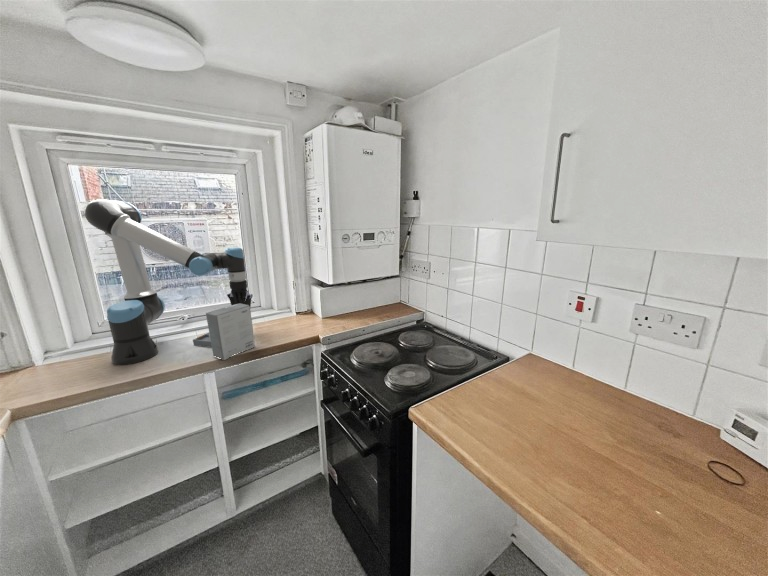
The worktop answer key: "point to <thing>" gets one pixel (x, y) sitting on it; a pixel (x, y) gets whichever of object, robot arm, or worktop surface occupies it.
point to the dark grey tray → (202, 340)
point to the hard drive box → (230, 330)
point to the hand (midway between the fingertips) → (243, 326)
